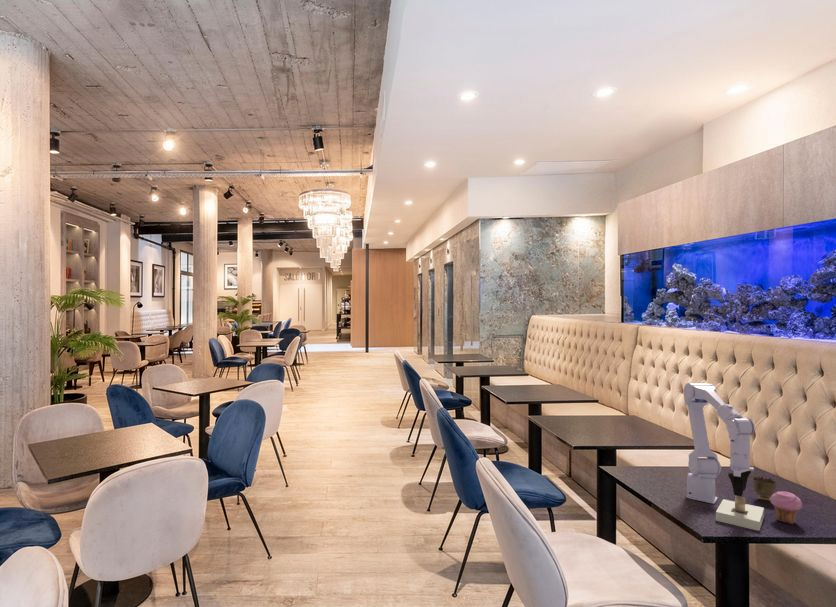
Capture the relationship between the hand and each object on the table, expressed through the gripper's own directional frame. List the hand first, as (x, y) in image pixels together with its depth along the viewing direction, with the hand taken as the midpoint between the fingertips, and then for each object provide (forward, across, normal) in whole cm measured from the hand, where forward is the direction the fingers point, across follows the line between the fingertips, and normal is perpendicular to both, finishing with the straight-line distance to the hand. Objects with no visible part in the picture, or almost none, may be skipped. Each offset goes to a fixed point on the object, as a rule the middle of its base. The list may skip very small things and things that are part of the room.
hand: (739, 492), depth 175 cm
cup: (+10, +30, -5) cm, 32 cm away
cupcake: (+10, +10, -12) cm, 19 cm away
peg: (+9, 0, 0) cm, 9 cm away
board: (+9, +2, 0) cm, 10 cm away
